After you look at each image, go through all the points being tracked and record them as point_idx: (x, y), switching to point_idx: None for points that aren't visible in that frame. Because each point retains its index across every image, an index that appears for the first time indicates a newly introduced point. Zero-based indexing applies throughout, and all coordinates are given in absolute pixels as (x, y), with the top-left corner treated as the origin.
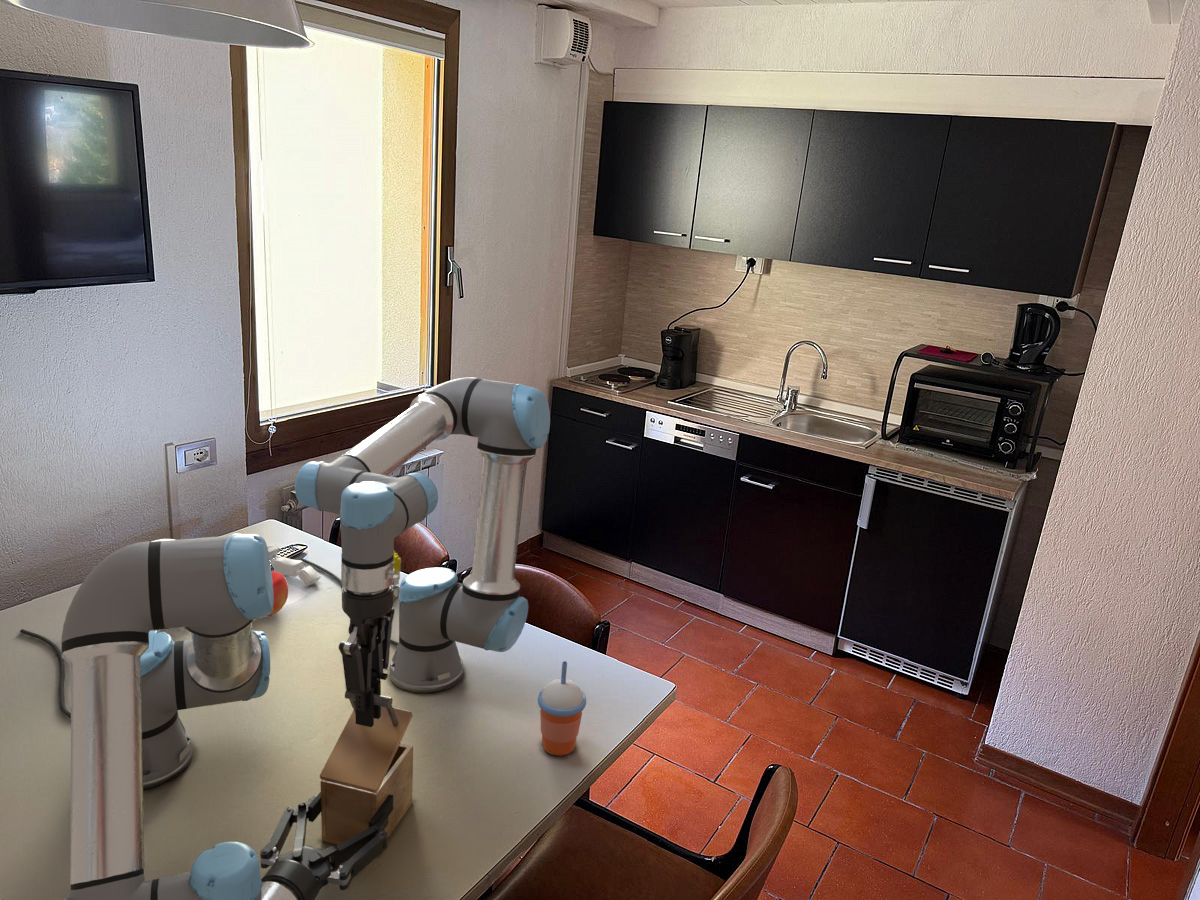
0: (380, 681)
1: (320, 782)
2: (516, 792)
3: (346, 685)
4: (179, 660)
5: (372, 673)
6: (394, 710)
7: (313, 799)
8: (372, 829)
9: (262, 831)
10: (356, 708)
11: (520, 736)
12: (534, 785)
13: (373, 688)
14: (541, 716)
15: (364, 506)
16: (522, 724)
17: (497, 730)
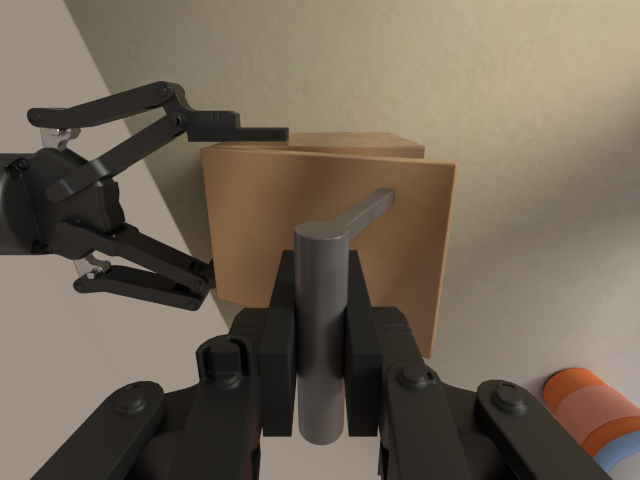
0: (372, 435)
1: (211, 146)
2: (446, 364)
3: (65, 450)
4: None
5: (387, 428)
6: (427, 306)
7: (224, 121)
8: (193, 282)
9: (223, 3)
10: (239, 315)
11: (590, 330)
12: (467, 380)
13: (346, 380)
14: (602, 420)
15: None
16: (626, 323)
17: (604, 291)
